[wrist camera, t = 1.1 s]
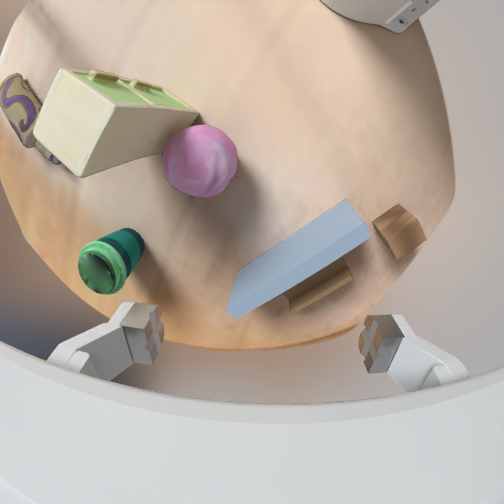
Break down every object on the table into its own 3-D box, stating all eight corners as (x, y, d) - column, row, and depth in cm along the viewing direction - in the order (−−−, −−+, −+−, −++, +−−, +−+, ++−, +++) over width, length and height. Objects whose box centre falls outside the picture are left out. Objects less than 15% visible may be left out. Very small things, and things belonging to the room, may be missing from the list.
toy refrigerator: (205, 109, 33) (121, 98, 15) (175, 150, 36) (78, 182, 18) (164, 81, 32) (62, 59, 13) (136, 121, 35) (29, 134, 16)
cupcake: (175, 171, 38) (143, 186, 29) (196, 116, 34) (167, 114, 25) (230, 194, 39) (213, 217, 30) (255, 139, 35) (244, 143, 26)
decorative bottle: (12, 100, 33) (-10, 103, 27) (27, 72, 30) (4, 72, 24) (61, 175, 40) (37, 185, 34) (79, 145, 37) (54, 151, 31)
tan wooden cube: (398, 203, 36) (417, 219, 30) (408, 223, 37) (427, 242, 31) (371, 221, 38) (386, 240, 31) (383, 241, 39) (398, 262, 32)
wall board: (345, 198, 37) (363, 222, 28) (371, 239, 39) (392, 272, 30) (237, 271, 44) (225, 309, 35) (267, 303, 46) (262, 345, 37)
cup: (106, 229, 43) (65, 260, 33) (137, 209, 41) (95, 238, 30) (130, 267, 46) (95, 305, 35) (162, 250, 44) (128, 290, 33)
